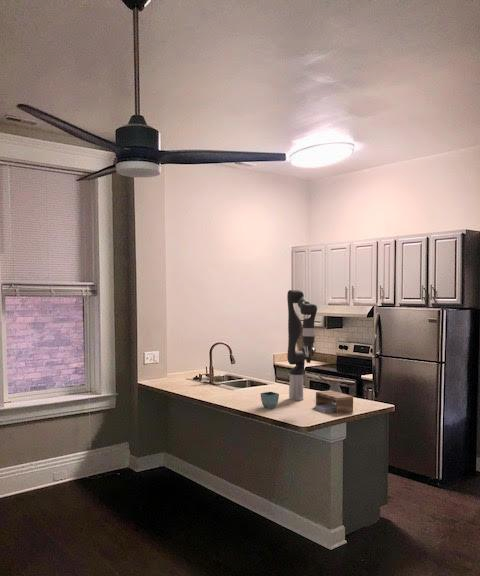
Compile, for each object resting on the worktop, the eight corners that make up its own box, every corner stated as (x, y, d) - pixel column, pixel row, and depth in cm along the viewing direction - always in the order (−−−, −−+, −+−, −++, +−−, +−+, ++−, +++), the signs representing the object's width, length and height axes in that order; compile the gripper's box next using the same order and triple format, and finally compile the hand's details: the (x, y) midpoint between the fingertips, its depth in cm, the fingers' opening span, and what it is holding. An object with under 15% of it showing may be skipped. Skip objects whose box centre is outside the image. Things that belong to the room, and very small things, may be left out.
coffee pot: (347, 401, 339) (347, 379, 339) (335, 403, 332) (335, 380, 332) (323, 396, 356) (324, 375, 356) (312, 398, 349) (312, 376, 349)
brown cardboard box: (315, 406, 321) (315, 391, 321) (330, 404, 327) (330, 390, 327) (337, 413, 302) (337, 397, 302) (353, 411, 307) (353, 396, 308)
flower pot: (268, 409, 312) (268, 395, 312) (259, 407, 319) (260, 393, 319) (279, 407, 317) (279, 393, 317) (270, 405, 324) (270, 391, 324)
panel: (315, 410, 313) (315, 405, 313) (335, 407, 320) (335, 403, 320) (324, 413, 304) (324, 408, 304) (345, 411, 311) (345, 406, 311)
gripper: (297, 334, 320) (297, 361, 320) (309, 336, 308) (309, 364, 308) (307, 334, 323) (307, 361, 323) (319, 335, 312) (319, 363, 311)
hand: (308, 362), depth 315 cm, fingers closed
